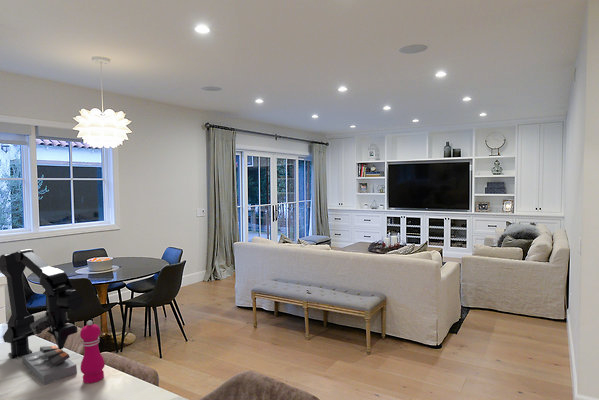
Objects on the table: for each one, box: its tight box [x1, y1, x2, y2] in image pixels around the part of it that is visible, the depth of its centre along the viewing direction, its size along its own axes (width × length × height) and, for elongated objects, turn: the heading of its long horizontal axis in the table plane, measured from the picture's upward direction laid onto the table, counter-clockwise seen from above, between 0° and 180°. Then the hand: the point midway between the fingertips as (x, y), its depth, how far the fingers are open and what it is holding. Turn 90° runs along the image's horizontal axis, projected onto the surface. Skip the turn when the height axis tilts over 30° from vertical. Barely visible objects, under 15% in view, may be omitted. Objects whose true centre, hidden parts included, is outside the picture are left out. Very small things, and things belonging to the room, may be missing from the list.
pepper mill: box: [79, 320, 106, 384], centre depth 134 cm, size 7×7×20 cm
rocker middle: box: [45, 349, 65, 359], centre depth 145 cm, size 4×5×2 cm
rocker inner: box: [39, 345, 59, 353], centre depth 149 cm, size 4×5×2 cm
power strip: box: [21, 350, 78, 386], centre depth 143 cm, size 24×10×3 cm, turn 49°
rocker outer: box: [50, 351, 71, 366], centre depth 141 cm, size 4×5×2 cm
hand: (60, 348), depth 146 cm, fingers closed
